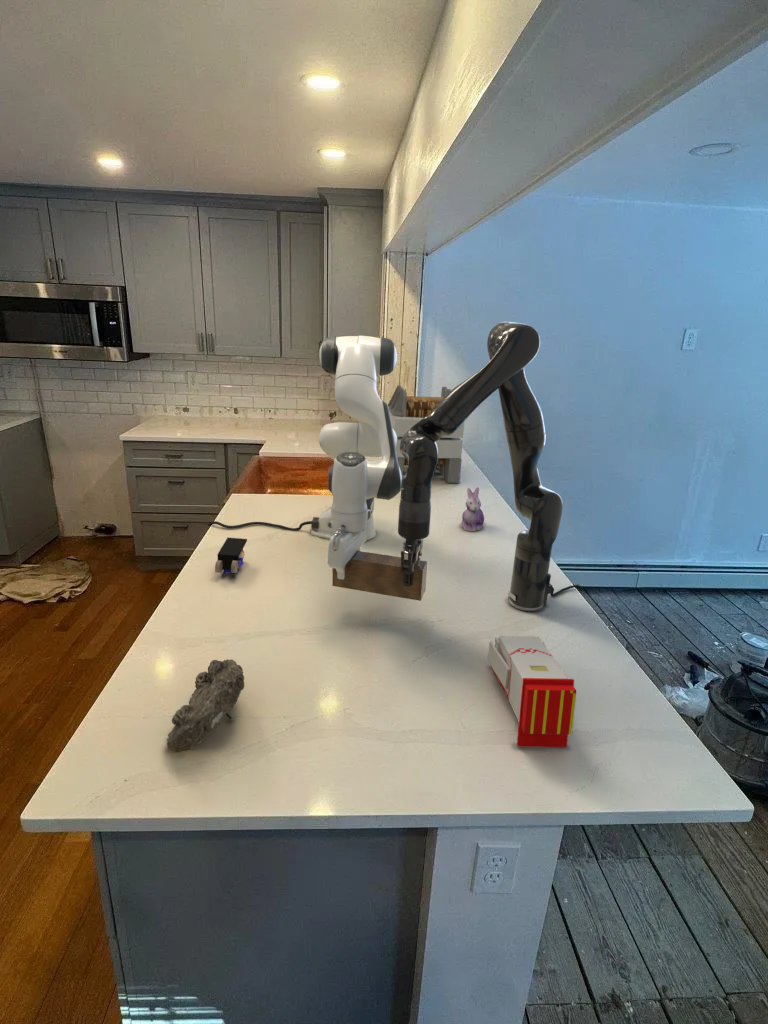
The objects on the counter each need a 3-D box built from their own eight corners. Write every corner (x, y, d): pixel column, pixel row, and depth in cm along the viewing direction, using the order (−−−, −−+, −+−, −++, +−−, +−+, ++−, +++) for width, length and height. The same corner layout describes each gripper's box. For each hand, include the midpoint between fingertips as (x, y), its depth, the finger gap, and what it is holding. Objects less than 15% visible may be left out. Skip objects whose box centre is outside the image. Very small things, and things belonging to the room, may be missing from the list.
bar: (332, 586, 144) (332, 556, 141) (339, 576, 149) (340, 547, 146) (420, 601, 138) (422, 570, 135) (425, 591, 143) (427, 561, 140)
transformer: (382, 463, 289) (386, 382, 275) (445, 464, 293) (451, 384, 279) (390, 482, 257) (394, 392, 243) (460, 483, 261) (468, 394, 247)
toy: (536, 619, 129) (586, 686, 99) (531, 673, 131) (578, 754, 102) (483, 618, 128) (517, 685, 99) (479, 672, 131) (511, 753, 102)
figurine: (470, 533, 202) (474, 493, 197) (453, 524, 211) (457, 485, 206) (491, 530, 207) (495, 491, 202) (474, 520, 215) (478, 483, 210)
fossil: (192, 660, 117) (244, 628, 112) (224, 691, 120) (276, 661, 115) (142, 746, 98) (202, 712, 93) (182, 779, 101) (242, 748, 96)
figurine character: (238, 584, 162) (249, 557, 175) (236, 562, 158) (247, 536, 172) (215, 584, 161) (227, 556, 175) (212, 561, 158) (225, 535, 171)
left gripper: (347, 535, 129) (346, 590, 134) (373, 508, 148) (371, 557, 152) (321, 532, 131) (321, 585, 135) (350, 505, 149) (349, 553, 154)
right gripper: (423, 528, 127) (419, 595, 133) (435, 508, 140) (431, 570, 146) (391, 524, 129) (388, 590, 134) (406, 504, 142) (403, 566, 148)
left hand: (348, 570), depth 144 cm, fingers open, 8 cm apart
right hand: (410, 579), depth 140 cm, fingers closed on bar, 5 cm apart
